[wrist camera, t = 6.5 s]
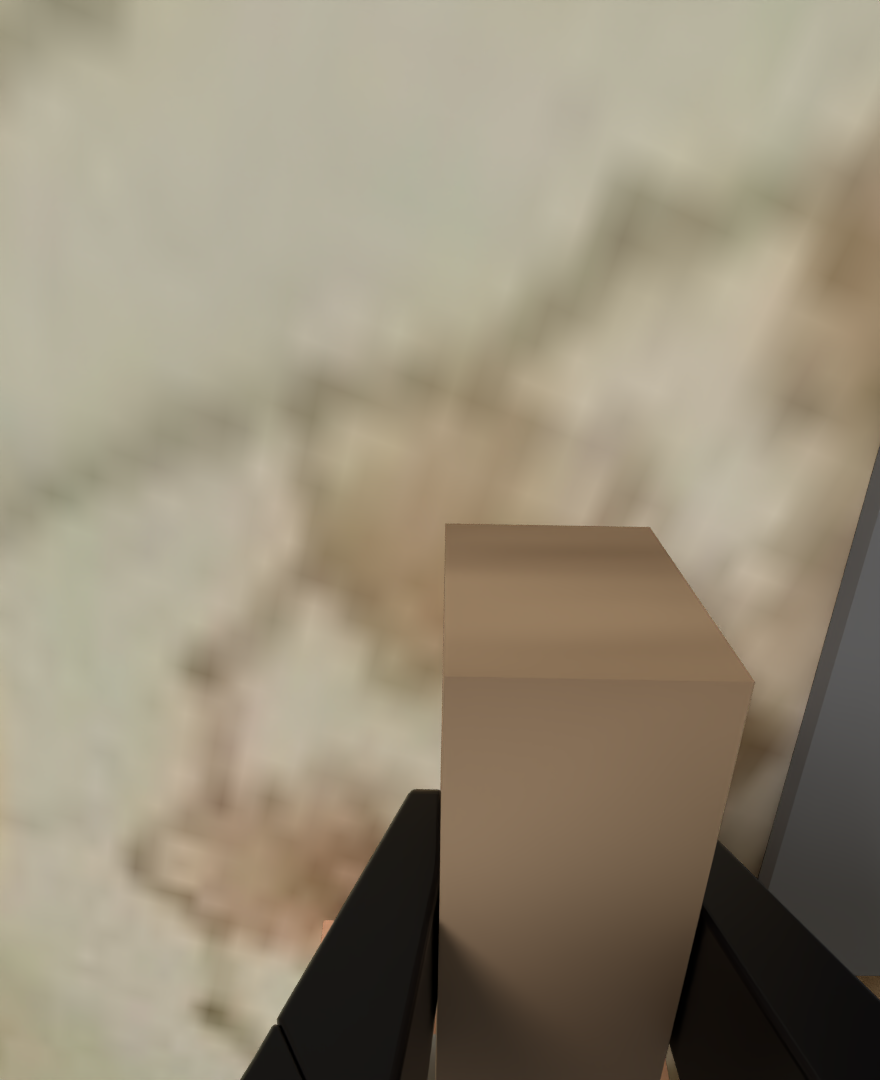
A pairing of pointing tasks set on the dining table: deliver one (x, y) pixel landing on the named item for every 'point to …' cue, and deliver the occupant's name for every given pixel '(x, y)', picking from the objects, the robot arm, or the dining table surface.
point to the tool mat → (838, 773)
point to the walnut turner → (574, 799)
